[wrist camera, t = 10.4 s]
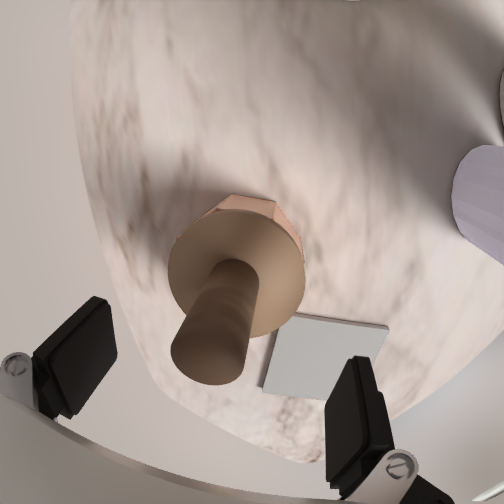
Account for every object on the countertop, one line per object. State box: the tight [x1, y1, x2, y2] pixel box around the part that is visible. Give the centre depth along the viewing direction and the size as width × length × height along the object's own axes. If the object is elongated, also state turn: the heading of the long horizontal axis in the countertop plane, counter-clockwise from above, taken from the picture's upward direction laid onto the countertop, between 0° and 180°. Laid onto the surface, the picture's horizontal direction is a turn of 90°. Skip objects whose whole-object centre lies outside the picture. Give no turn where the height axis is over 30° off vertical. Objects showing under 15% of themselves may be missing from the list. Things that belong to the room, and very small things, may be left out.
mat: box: [262, 313, 389, 400], centre depth 26 cm, size 10×10×1 cm
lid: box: [168, 209, 305, 385], centre depth 15 cm, size 8×8×8 cm
